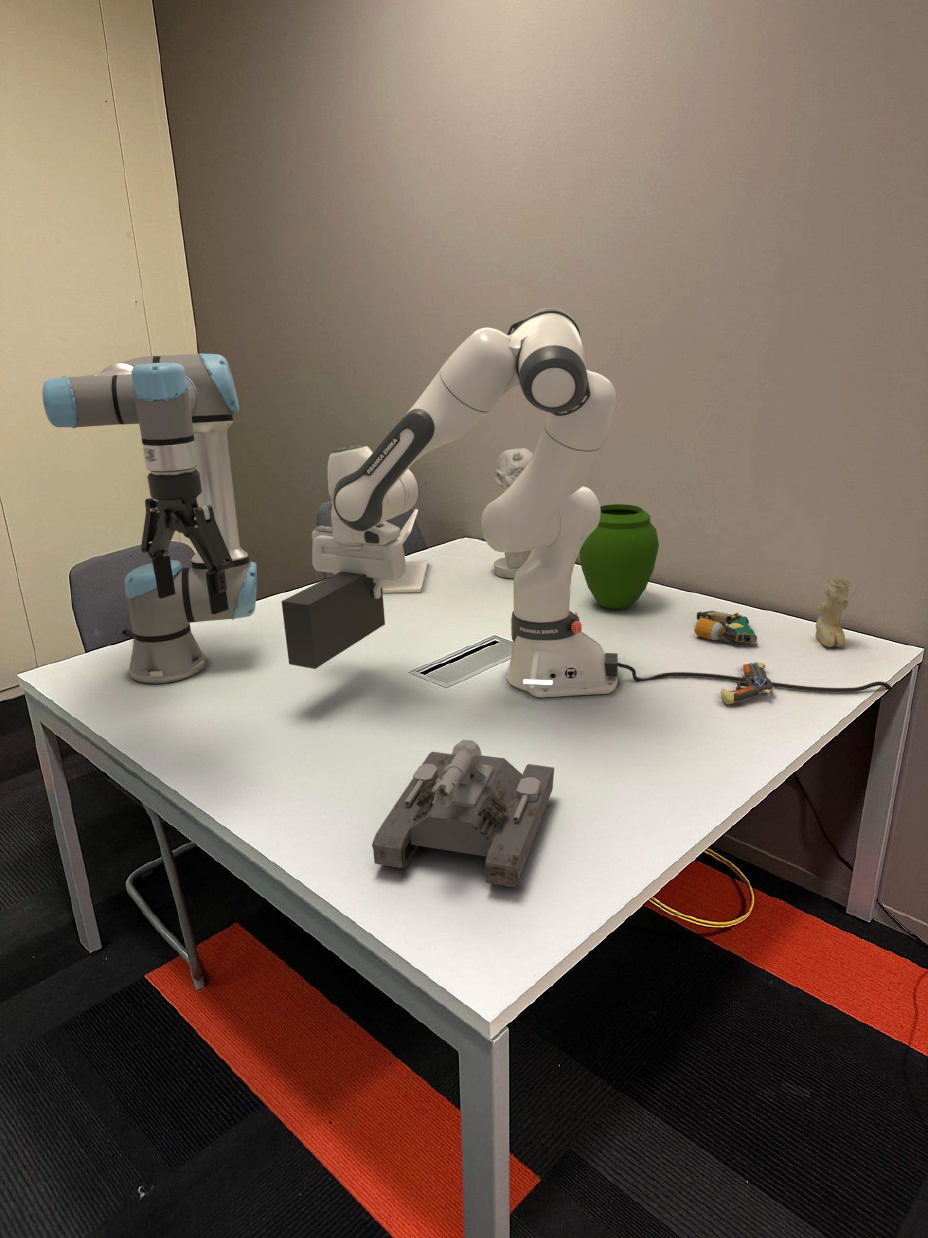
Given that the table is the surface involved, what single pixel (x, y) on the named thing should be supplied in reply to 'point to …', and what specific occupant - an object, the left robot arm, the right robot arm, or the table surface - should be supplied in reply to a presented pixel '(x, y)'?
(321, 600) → the box
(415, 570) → the tablet stand
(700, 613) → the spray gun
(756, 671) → the toy gun
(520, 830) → the toy
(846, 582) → the sculpture
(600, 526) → the vase
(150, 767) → the table surface
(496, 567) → the bust sculpture
